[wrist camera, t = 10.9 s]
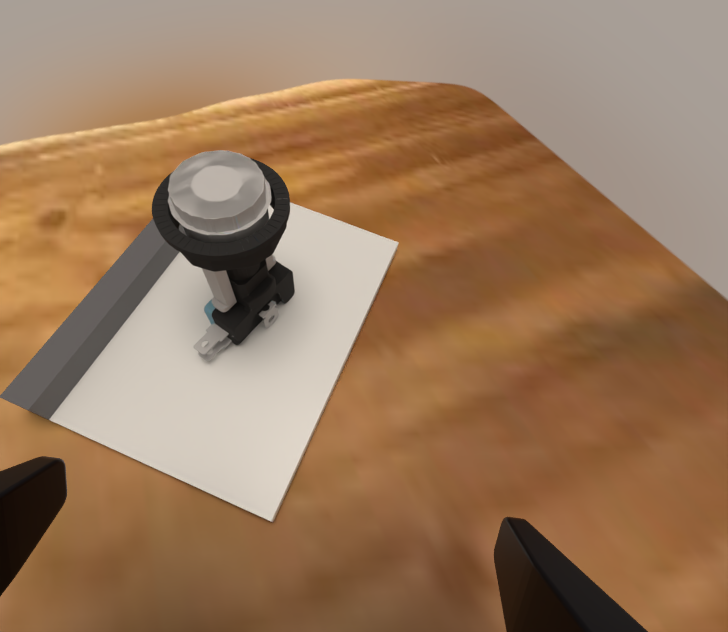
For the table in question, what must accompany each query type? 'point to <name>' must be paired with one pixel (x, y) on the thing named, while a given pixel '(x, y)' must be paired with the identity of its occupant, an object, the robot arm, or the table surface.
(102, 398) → the marker board
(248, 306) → the push button
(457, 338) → the table surface
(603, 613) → the robot arm
